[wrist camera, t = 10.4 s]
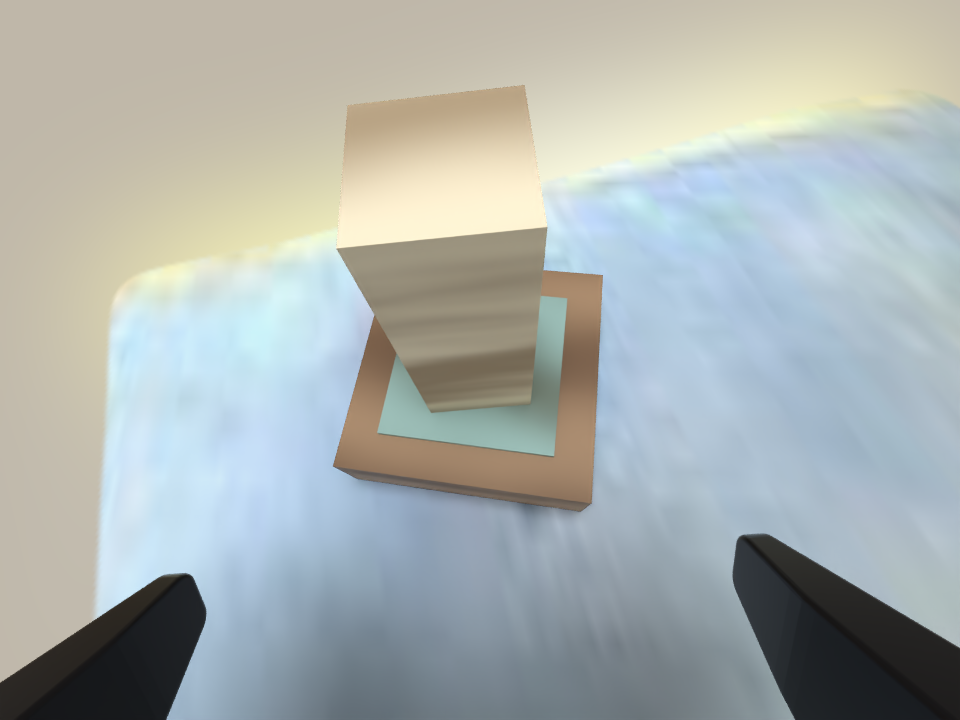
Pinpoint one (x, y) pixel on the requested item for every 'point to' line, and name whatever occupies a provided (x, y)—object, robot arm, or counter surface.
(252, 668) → the counter surface
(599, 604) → the counter surface
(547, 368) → the walnut plinth
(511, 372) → the birch post
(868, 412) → the counter surface
